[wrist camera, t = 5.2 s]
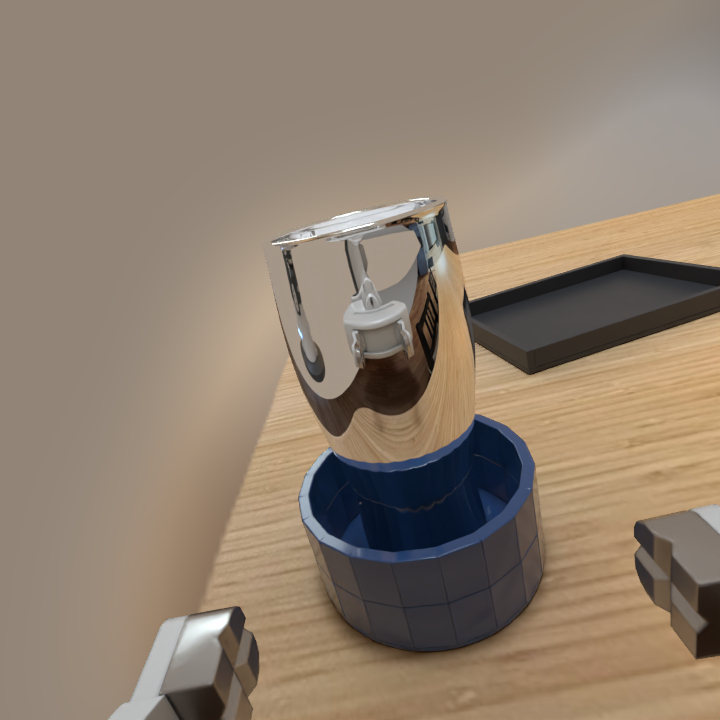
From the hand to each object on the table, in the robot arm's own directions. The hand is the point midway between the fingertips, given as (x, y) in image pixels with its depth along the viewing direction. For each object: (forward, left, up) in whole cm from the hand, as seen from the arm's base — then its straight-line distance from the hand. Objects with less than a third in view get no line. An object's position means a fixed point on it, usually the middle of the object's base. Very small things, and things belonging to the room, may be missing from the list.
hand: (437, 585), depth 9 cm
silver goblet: (+2, +10, -9) cm, 13 cm away
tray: (+25, +30, -9) cm, 40 cm away
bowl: (+2, +10, -9) cm, 13 cm away
